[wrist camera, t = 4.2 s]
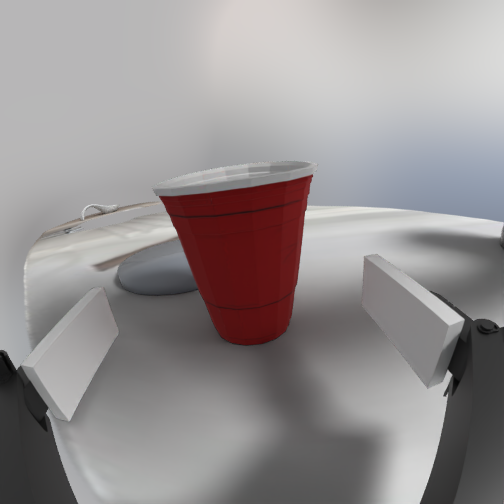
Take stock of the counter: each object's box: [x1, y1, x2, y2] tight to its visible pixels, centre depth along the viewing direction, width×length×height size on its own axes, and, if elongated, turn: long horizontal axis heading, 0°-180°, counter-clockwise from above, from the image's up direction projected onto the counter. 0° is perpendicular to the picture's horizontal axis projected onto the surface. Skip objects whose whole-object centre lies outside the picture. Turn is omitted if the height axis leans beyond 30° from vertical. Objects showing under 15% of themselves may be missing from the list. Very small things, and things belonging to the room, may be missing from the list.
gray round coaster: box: [118, 240, 198, 295], centre depth 36 cm, size 18×18×2 cm
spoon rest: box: [81, 204, 119, 220], centre depth 128 cm, size 24×12×7 cm, turn 143°
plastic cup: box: [152, 161, 318, 345], centre depth 19 cm, size 11×11×12 cm
